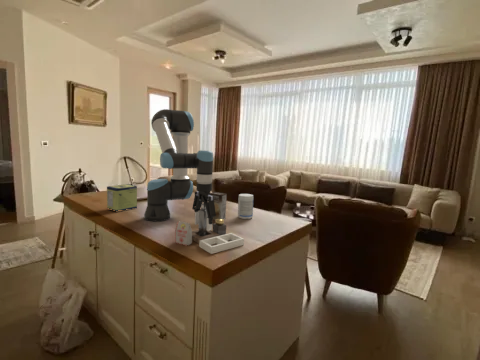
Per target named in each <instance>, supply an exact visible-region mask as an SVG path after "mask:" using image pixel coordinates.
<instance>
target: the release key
mask: <svg viewBox="0 0 480 360" xmlns="http://www.w3.org/2000/svg"><path fill="white" fill-rule="evenodd" d="M214 221H215V223H214V224H217V225H222V224H225V219H221V218H218V219H215V220H214Z"/></svg>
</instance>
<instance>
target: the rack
mask: <svg viewBox="0 0 480 360" xmlns="http://www.w3.org/2000/svg"><path fill="white" fill-rule="evenodd" d="M244 245H245V238H243V237H241V236H239V235H237V234H235V233H234V232H230V233H226V234H225V235H220V236H216V237H212V238H208V239H203V240H199V243H198V246H199V248H201V249H202V250H204V251H205V252H207V253H209V254H210V255H213V254H215V253H220V252H224V251H227V250H230V249H233V248H237V247H241V246H244Z"/></svg>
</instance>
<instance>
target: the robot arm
mask: <svg viewBox="0 0 480 360" xmlns="http://www.w3.org/2000/svg"><path fill="white" fill-rule="evenodd" d="M194 125H195V122H194V117H193V115H192V113H191V112H190V111H186V110H177V109H169V108H168V109H165V108H164V109H160V110H158V111H157V112H156V113H154V115H153V116H152V117H151V129H152V130H153V132H155V134H156V137H157V140H158V144H159V147H160V150H161V153H160V157H159V164H160V167H161V168H163V169H168V170H170V169H171V170H172V171H173V172H172V173H173V174H172V176H171V177H170V180H168V178H157V179H152V180H149V181H148V182H147V187H146V190H147V191H146V193H147V199H146V200H147V201H146V202H147V204H146V205H147V206H146V209H145V212H144V214H143V215H144V217H143V218H144V219H143V220H145V221H147V222H162V221H163V222H164V221H167V220H170V219H171V212H170V208H169V206H168V203H169V202H168V201H177V200H178V201H179V200H182V201H183V200H189V199H190V198H191V197H192V195H193V193H194V196H193V197H194V198H193V203H192V210H193V211H194V225H195V226H197V225H198V226H199V209H201V204H203V203H204V204H205V207H206V211H207V215H208V217H207V229H206V230H207V231H209V230H211V231H213V224H214V223H213V222H214V221H213V220H214V219H213V217H215V216H216V212H215V205H214V196H211V195H210V193H211V191H213V171H214V169H213V167H214V153H213V151H211V150H202V149H200V150H198V151H197V152H196V153H195V152H194V153H189V152H188V151H189V149H188V148H189V147H188V146H189V145H188V143H189V139H188V137H189V136H190V135H191V132H193V131H194V127H195V126H194ZM188 169H196V190H195V191H194V183H193V181H192V180H191V177H190V176H188ZM193 191H194V192H193Z"/></svg>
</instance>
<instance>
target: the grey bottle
mask: <svg viewBox="0 0 480 360" xmlns="http://www.w3.org/2000/svg"><path fill="white" fill-rule="evenodd" d="M207 217H208V215H207V211H206V207H205V204H204V203H202V204H201V208H200V209H199V224H198V229H197V230H198V235H199V236H201V237H202V236H206V235H208V231H207V230H206V229H207Z"/></svg>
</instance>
